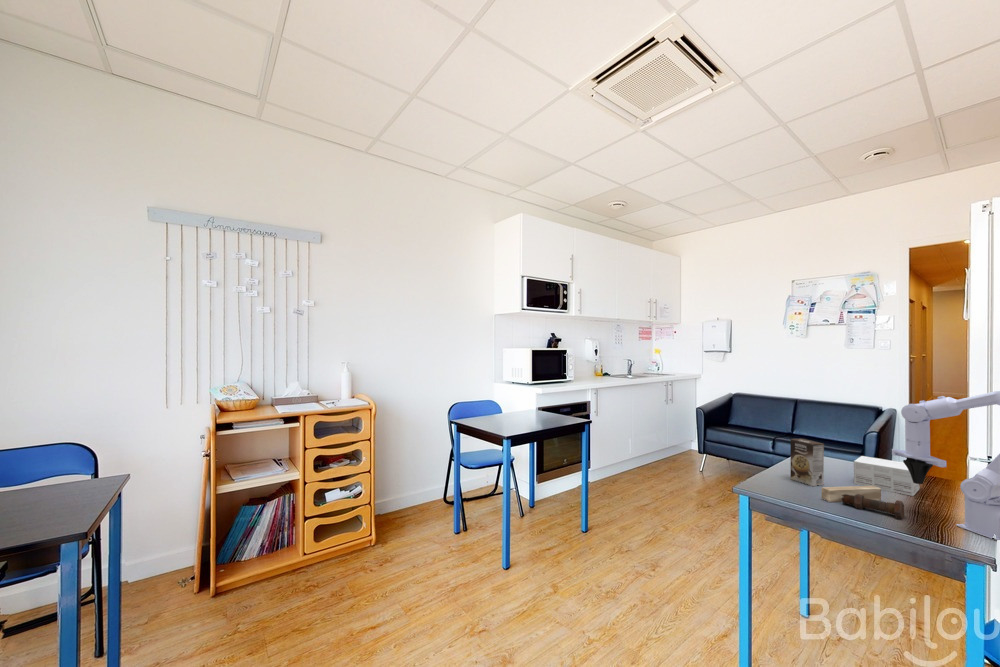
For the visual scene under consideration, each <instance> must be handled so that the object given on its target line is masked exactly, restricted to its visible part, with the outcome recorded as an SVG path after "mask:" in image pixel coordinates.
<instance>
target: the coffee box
mask: <svg viewBox="0 0 1000 667" xmlns="http://www.w3.org/2000/svg"><path fill="white" fill-rule="evenodd" d="M824 453H825V443H822V442H818V441H814V440H809V439H806V438H790V480H792V481H795V482H798V481H799V482H798V483H801V482H802V483H801V484H804V483H805V484H804V485H807V484H808V486H810V485H811V487H817V485H819V486H824V483H825V482H824V481H825V480H824V471H825V470H824V464H825V462H824V459H825V457H824V456H825V454H824Z"/></svg>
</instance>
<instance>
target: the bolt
mask: <svg viewBox="0 0 1000 667" xmlns="http://www.w3.org/2000/svg"><path fill="white" fill-rule="evenodd" d="M842 496H843V497H842V503H843V504H846V505H851V506H854V508H856V509H857V508H859V509H858V510H864V509H868V510H873V511H879V512H883V513H885V514H886V513H887V514H890V515H894V516H895V519H899V520H904V518H905V504H904V502H903V501H902V500H895V501H894V502H887V501H882V500H872V499H867V498H864V496H863V495H861V494H856V495H855V496H853V495H848V494H847V495H846V494H844V495H842ZM863 508H864V509H863Z"/></svg>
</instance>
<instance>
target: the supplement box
mask: <svg viewBox="0 0 1000 667" xmlns="http://www.w3.org/2000/svg"><path fill="white" fill-rule="evenodd" d="M853 484H854V485H856V484H858V485H857V486H861V485H863V486H875V487H878V488H881V491H885V490H886V491H887V492H890V491H891V492H890V493H895V492H896V493H895V494H900V493H901V494H900V495H906V496H911V497H914V496H915V495H916V494H917V493H918V491H919V490H920V484H916V483H913V480H912V477H911V474H910V472H909V470H908V468H907V467H906V465H905V464H904V462H903V461H897V460H890V459H884V458H878V457H872V456H871V457H870V456H865V455H860V456H859V457H858V458H857V459H855V460H853Z"/></svg>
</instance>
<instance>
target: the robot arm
mask: <svg viewBox="0 0 1000 667" xmlns="http://www.w3.org/2000/svg"><path fill="white" fill-rule="evenodd" d="M994 405H995V406H996V405H997V406H1000V390H998V391H997V390H996V391H991V392H986V393H982V394H978V395H974V396H973V395H972V396H969V397H964V398H959V399H956V398H953V397H951V396H947V397H946V396H944V395H941V396H937V398H936V399H930V400H927V401H926V400H919V403H908V404H907V405H904V406H903V407H902V408H901V410H900V414H901V417H902V418H903V419H904V423H905V424H904V429H905V430H904V434H905V435H904V439H905V442H904V443H905V449H897V448H891V455H892V456H897V457H901V458H905V459H903V460H902V462H904V464H905V465H906V467H907V468H908V470H909V472H910V474H911V477H912V480H913V483H916V484H919V485H923V484H924V481H925V479H926V476H927V474H928V472H929V471H930V470H931V469H932V467H934V466H936V467H939V468H947V460H944V459H940V458H939V457H935V456H932V455H931V427H930V424H931V423H930V422H931V420H937V419H943V418H950V417H955V416H960V415H961V414H962V412H963V411H964V410H969V409H975V408H982V407H988V406H994ZM960 491H961V492H962V494H963V495H964V523H956V525H955V526H956V527H959V528H961V529H965V530H967V531H969V532H972V533H974V534H977V535H981V536H984V537H986V538H988V539H992V538H993V536H994V534H995V535H996V540H995V541H1000V453H998V454H997V456H996V457H995V458H994V459H992V461H991V462H990V463H989V464H988V465H987V466H986V467H985V468H983V469H981V470H980V471H978V472H977V473H976V474H975V475H974V476H971V477H970V478H966V479H964V480H962V481H961V483H960ZM992 540H993V539H992Z"/></svg>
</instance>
